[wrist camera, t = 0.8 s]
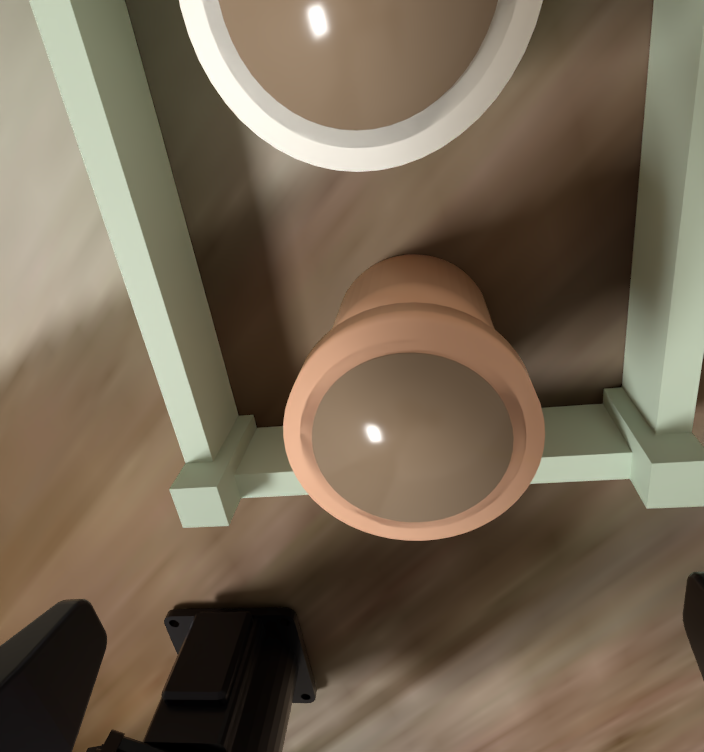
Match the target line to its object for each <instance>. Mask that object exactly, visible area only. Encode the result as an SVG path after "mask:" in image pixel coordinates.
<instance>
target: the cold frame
mask: <svg viewBox="0 0 704 752" xmlns="http://www.w3.org/2000/svg"><path fill="white" fill-rule="evenodd" d="M29 2H30V5H31V8H32V10H33V13H34V16H35V19H36V22H37V25H38V28H39V31H40V34H41V37H42V40H43V43H44V46H45V49H46V52H47V55H48V58H49V61H50V64H51V67H52V70H53V73H54V76H55V78H56V81H57V84H58V87H59V90H60V93H61V96H62V99H63V102H64V105H65V108H66V111H67V114H68V117H69V120H70V123H71V126H72V129H73V132H74V135H75V138H76V141H77V144H78V146H79V149H80V152H81V155H82V158H83V161H84V164H85V167H86V170H87V173H88V176H89V179H90V182H91V185H92V188H93V191H94V194H95V197H96V200H97V203H98V206H99V209H100V212H101V214H102V217H103V220H104V223H105V226H106V229H107V232H108V235H109V238H110V241H111V244H112V247H113V250H114V253H115V256H116V259H117V262H118V265H119V268H120V271H121V274H122V277H123V280H124V283H125V285H126V288H127V291H128V294H129V297H130V300H131V303H132V306H133V309H134V312H135V315H136V318H137V321H138V324H139V327H140V330H141V333H142V336H143V339H144V342H145V345H146V348H147V351H148V353H149V356H150V359H151V362H152V365H153V368H154V371H155V374H156V377H157V380H158V383H159V386H160V389H161V392H162V395H163V398H164V401H165V404H166V407H167V410H168V413H169V416H170V419H171V421H172V424H173V427H174V430H175V433H176V436H177V439H178V442H179V445H180V448H181V451H182V454H183V457H184V460H185V465H184V467H183V468H182V470H181V471H180V473H179V475H178V476H177V478H176V479H175V481H174V483H173V484H172V486H171V487H170V489H169V490H170V493H171V495H172V498H173V501H174V504H175V506H176V509H177V512H178V515H179V517H180V520H181V523H182V526H183V528H188V527H212V526H229V524H230V522H231V520H232V518H233V515H234V513H235V511H236V508H237V506H238V504H239V502H240V499H241V498H251V497H272V496H292V495H309V494H308V493H307V492H306V491H305V489H304V488H303V487H302V485H301V484H300V482H299V481H298V479H297V478H296V476H295V474H294V472H293V470H292V468H291V465H290V463H289V460H288V457H287V454H286V450H285V444H284V438H283V426H276V427H262V428H257V427H256V423H255V419H254V415H243V416H239V415H238V412H237V408H236V404H235V401H234V397H233V393H232V390H231V386H230V382H229V379H228V375H227V371H226V368H225V364H224V361H223V357H222V353H221V350H220V346H219V342H218V339H217V335H216V331H215V328H214V324H213V320H212V317H211V313H210V309H209V306H208V302H207V298H206V295H205V291H204V287H203V284H202V280H201V276H200V273H199V269H198V266H197V262H196V258H195V255H194V251H193V247H192V244H191V240H190V236H189V233H188V229H187V225H186V222H185V218H184V214H183V211H182V207H181V203H180V200H179V196H178V192H177V189H176V185H175V181H174V178H173V174H172V170H171V167H170V163H169V160H168V156H167V152H166V149H165V145H164V141H163V138H162V134H161V130H160V127H159V123H158V119H157V116H156V112H155V108H154V105H153V101H152V97H151V94H150V90H149V86H148V83H147V79H146V75H145V72H144V68H143V65H142V61H141V57H140V54H139V50H138V46H137V43H136V39H135V35H134V32H133V28H132V24H131V21H130V17H129V13H128V10H127V6H126V2H125V0H29ZM703 354H704V0H654V4H653V16H652V28H651V40H650V52H649V65H648V77H647V89H646V101H645V113H644V125H643V137H642V150H641V162H640V174H639V186H638V198H637V210H636V222H635V235H634V247H633V259H632V271H631V283H630V295H629V307H628V320H627V332H626V344H625V356H624V368H623V380H622V387H620V388H607V389H604V392H603V404H590V405H576V406H562V407H547V408H542V412H543V417H544V424H545V442H544V450H543V454H542V458H541V462H540V465H539V467H538V469H537V472H536V474H535V476H534V478H533V480H532V481H531V483H530V484H535V483H555V482H576V481H596V480H616V479H630V480H631V482H632V483H633V485H634V487H635V489H636V491H637V492H638V494H639V496H640V498H641V500H642V501H643V503H644V505H645V507H646V508H647V509H650V508H674V507H699V506H704V447H703V446H702V444H701V443H700V442H699V441H698V440H697V438H696V437H695V436H694V435H693V434H692V427H693V420H694V414H695V407H696V400H697V394H698V387H699V381H700V374H701V368H702V361H703Z"/></svg>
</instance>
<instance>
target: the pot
mask: <svg viewBox="0 0 704 752" xmlns="http://www.w3.org/2000/svg"><path fill="white" fill-rule="evenodd" d="M179 2H180V8H181V11H182V15H183V18H184V21H185V25H186V28H187V32H188V35H189V37H190V40H191V42H192V45H193V47H194V50H195V52H196V54H197V57H198V59H199V61H200V63H201V65H202V67H203V69H204V70H205V72H206V74H207V76H208V78H209V80H210V82H211V83H212V85H213V86H214V87H215V89H216V90H217V92H218V93H219V95H220V96H221V98H222V99H223V100H224V102H225V103H226V104H227V105H228V107H229V108H230V109H231V110H232V111H233V112H234V113H235V115H236V116H237V117H238V118H239V119H240V120H241V121H242V122H243V123H244V124H245V125H246V126H247V127H249V128H250V129H251V130H252V131H253V132H254V133H255V134H256V135H257V136H259V137H260V138H262V139H263V140H265V141H266V142H267V143H269V144H270V145H272V146H273V147H275V148H276V149H278V150H280V151H282V152H284V153H286V154H288V155H289V156H291V157H293V158H295V159H298V160H301V161H303V162H306V163H309V164H312V165H315V166H318V167H323V168H328V169H333V170H339V171H353V172H362V171H376V170H383V169H387V168H392V167H397V166H401V165H404V164H407V163H409V162H412V161H415V160H418V159H420V158H423V157H424V156H426V155H428V154H430V153H432V152H434V151H436V150H438V149H440V148H442V147H443V146H445V145H446V144H447V143H449V142H450V141H452V140H453V139H455V138H456V137H458V136H459V135H460V134H462V133H463V132H464V131H465V130H466V129H467V128H468V127H469V126H471V125H472V124H473V123H474V122H475V121H476V120H477V119H478V118H479V117H480V116H481V115H482V114H483V113H484V112H485V111H486V110H487V108H488V107H489V106H490V105H491V104H492V103H493V102H494V100H495V99H496V98H497V97H498V95H499V94H500V92H501V91H502V89H503V88H504V87H505V85H506V84H507V82H508V81H509V79H510V78H511V77H512V75H513V73H514V71H515V69H516V67H517V65H518V64H519V62H520V60H521V58H522V56H523V54H524V53H525V50H526V48H527V45H528V43H529V41H530V38H531V36H532V33H533V31H534V28H535V26H536V23H537V19H538V16H539V13H540V9H541V6H542V2H543V0H179Z"/></svg>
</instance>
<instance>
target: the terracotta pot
mask: <svg viewBox="0 0 704 752" xmlns="http://www.w3.org/2000/svg"><path fill="white" fill-rule="evenodd" d="M283 438H284V444H285V450H286V454H287V457H288V460H289V463H290V465H291V468H292V470H293V472H294V474H295V476H296V478H297V479H298V481H299V482H300V484H301V485H302V487H303V488H304V489H305V491H306V492H307V493H308V494H309V495H310V496H311V498H312V499H313V500H314V501H315V502H316V503H318V504H319V505H320V506H321V507H322V508H323V509H324V510H326V511H327V512H328V513H330V514H331V515H332V516H334V517H335V518H337V519H339V520H340V521H342V522H344V523H346V524H347V525H350V526H352V527H354V528H356V529H359V530H361V531H364V532H367V533H370V534H373V535H376V536H381V537H385V538H390V539H398V540H407V541H425V540H436V539H442V538H448V537H453V536H456V535H460V534H463V533H466V532H469V531H471V530H474V529H476V528H479V527H481V526H483V525H485V524H486V523H488V522H490V521H492V520H494V519H495V518H497V517H498V516H499V515H501V514H502V513H504V512H505V511H506V510H507V509H509V508H510V507H511V506H512V505H513V504H514V503H515V502H516V501H517V500H518V499H519V498H520V497H521V495H522V494H523V493H524V492H525V490H526V489H527V488H528V486H529V485H530V483H531V481H532V480H533V478H534V476H535V474H536V472H537V469H538V467H539V465H540V462H541V458H542V454H543V450H544V442H545V424H544V417H543V412H542V408H541V404H540V402H539V399H538V397H537V394H536V392H535V389H534V387H533V384H532V382H531V379H530V377H529V375H528V372H527V370H526V367H525V365H524V363H523V362H522V360H521V358H520V357H519V355H518V354H517V352H516V351H515V350H514V348H513V347H512V346H511V345H510V344H509V342H508V341H507V340H506V339H505V338H504V337H502V336H501V335H500V334H499V333H498V332H497V331H496V330H495V328H494V325H493V322H492V319H491V316H490V313H489V310H488V307H487V305H486V302H485V299H484V297H483V295H482V293H481V291H480V290H479V288H478V286H477V285H476V284H475V282H474V281H473V280H472V279H471V278H470V277H469V276H468V275H467V274H466V273H465V272H464V271H462V270H461V269H460V268H458V267H457V266H455V265H453V264H451V263H449V262H447V261H445V260H442V259H440V258H437V257H433V256H428V255H418V254H410V255H401V256H395V257H392V258H389V259H386V260H383V261H381V262H379V263H377V264H375V265H373V266H372V267H370V268H368V269H367V270H366V271H364V272H363V273H362V274H361V275H360V276H359V277H358V278H357V279H356V280H355V281H354V282H353V283H352V285H351V286H350V288H349V289H348V290H347V292H346V294H345V296H344V298H343V300H342V303H341V306H340V309H339V311H338V314H337V317H336V320H335V322H334V325H333V328H332V330H330V331H329V332H328V333H327V334H326V335H324V336H323V338H322V339H321V340H320V341H319V342H318V343H317V344H316V345H315V346H314V347H313V349H312V350H311V352H310V353H309V355H308V356H307V358H306V359H305V361H304V363H303V365H302V367H301V370H300V372H299V374H298V376H297V379H296V381H295V383H294V386H293V388H292V391H291V393H290V395H289V399H288V402H287V405H286V408H285V414H284V421H283Z"/></svg>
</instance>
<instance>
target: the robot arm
mask: <svg viewBox="0 0 704 752" xmlns="http://www.w3.org/2000/svg"><path fill="white" fill-rule="evenodd" d="M683 622H684V627H685V631H686V634H687V637H688V639H689V642H690V645H691V648H692V650H693V653H694V656H695V658H696V661H697V664H698V666H699V669H700V672H701V675H702V677H703V680H704V572H693V573H691V574H690V575H689V577H688V579H687V586H686V593H685V601H684V609H683ZM164 624H165V626H166V628H167V631H168V633H169V635H170V638H171V640H172V643H173V645H174V647H175V650H176V652H177V654H178V656H177V658H176V661H175V663H174V665H173V668H172V670H171V672H170V675H169V677H168V679H167V682H166V684H165V686H164V689H163V691H162V697H161V700H160V702H159V704H158V707H157V709H156V712H155V714H154V716H153V719H152V721H151V723H150V726H149V728H148V730H147V733H146V735H145V738H144V740H143V742H141V741H137V740H134V739H131V738H128V737H125V736H124V734H125V733H122V732H119V731H116V730H111V732H110V734H109V736H108V738H107V739H106V741H105V743H104V744H102V746H97V747H91V748H88V749H87V751H86V752H282V750H283V745H284V740H285V735H286V730H287V725H288V720H289V715H290V710H291V705H292V703H311V702H313V701H314V700H315V698H316V691H317V689H316V686H315V682H314V678H313V674H312V671H311V667H310V663H309V660H308V656H307V652H306V648H305V645H304V641H303V637H302V634H301V630H300V626H299V623H298V619H297V615H296V613H295V612H294V611H293V610H291V609H289V608H234V609H174V610H170V611H169V612H168V614H167V616H166V618H165V620H164ZM106 645H107V635H106V632H105V629H104V628H103V626H102V624H101V622H100V620H99V618H98V616H97V614H96V612H95V610H94V608H93V606H92V605H91V603H90V602H89V601H87V600H86V599H71V600H63V601H60V602H58V603H57V604H55V605H54V606H53V607H51V608H50V609H49V610H47V611H46V612H45V613H43V614H42V615H41V616H40V617H38V618H37V619H36V620H34V621H33V622H32V623H30V624H29V625H28V626H26V627H25V628H24V629H22V630H21V631H20V632H18V633H17V634H16V635H14V636H13V637H12V638H10V639H9V640H8V641H6V642H5V643H4V644H2V645H1V646H0V752H72V750H73V747H74V744H75V741H76V738H77V735H78V733H79V730H80V727H81V724H82V721H83V717H84V714H85V711H86V708H87V705H88V702H89V699H90V696H91V693H92V690H93V687H94V684H95V681H96V678H97V675H98V672H99V669H100V665H101V662H102V659H103V656H104V653H105V650H106Z"/></svg>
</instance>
